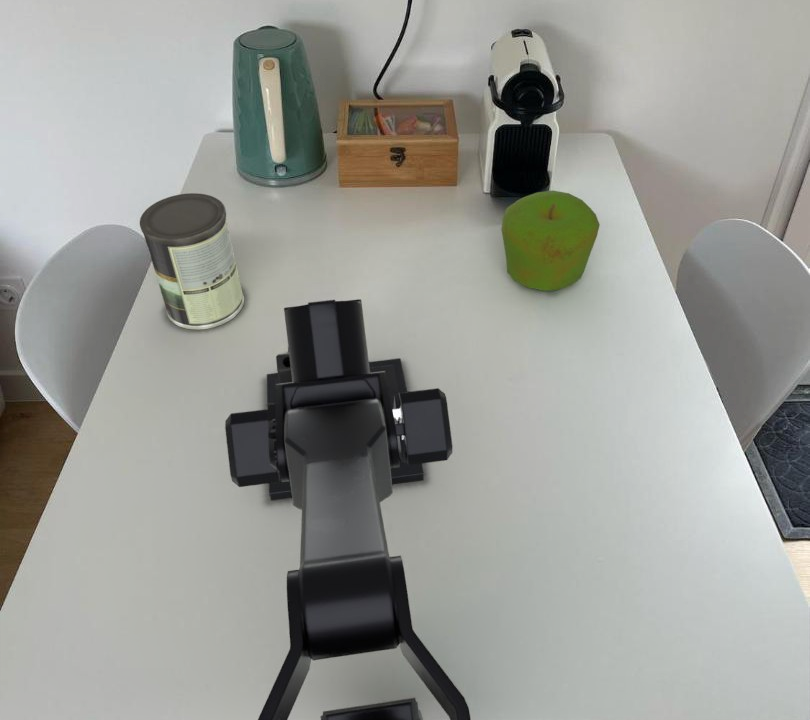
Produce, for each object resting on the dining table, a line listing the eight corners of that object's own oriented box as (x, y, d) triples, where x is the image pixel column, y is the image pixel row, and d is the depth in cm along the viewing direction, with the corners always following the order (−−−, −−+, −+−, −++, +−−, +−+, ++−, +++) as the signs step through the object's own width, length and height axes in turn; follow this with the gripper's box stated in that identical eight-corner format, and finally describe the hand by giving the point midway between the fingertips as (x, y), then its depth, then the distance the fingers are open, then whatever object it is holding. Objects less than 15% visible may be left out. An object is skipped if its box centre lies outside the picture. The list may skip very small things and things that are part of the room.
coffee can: (153, 326, 105) (124, 234, 95) (185, 278, 112) (161, 189, 103) (228, 334, 103) (206, 242, 94) (255, 286, 111) (237, 196, 101)
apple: (513, 242, 116) (518, 172, 108) (599, 258, 112) (610, 187, 105) (487, 293, 108) (491, 221, 100) (579, 312, 104) (589, 239, 96)
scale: (424, 480, 85) (423, 471, 84) (270, 501, 84) (268, 491, 82) (400, 365, 98) (400, 355, 97) (268, 381, 97) (266, 371, 96)
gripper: (446, 322, 63) (426, 338, 78) (204, 350, 61) (232, 361, 77) (464, 465, 62) (440, 452, 78) (220, 496, 61) (246, 477, 77)
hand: (340, 433), depth 77 cm, fingers open, 9 cm apart
